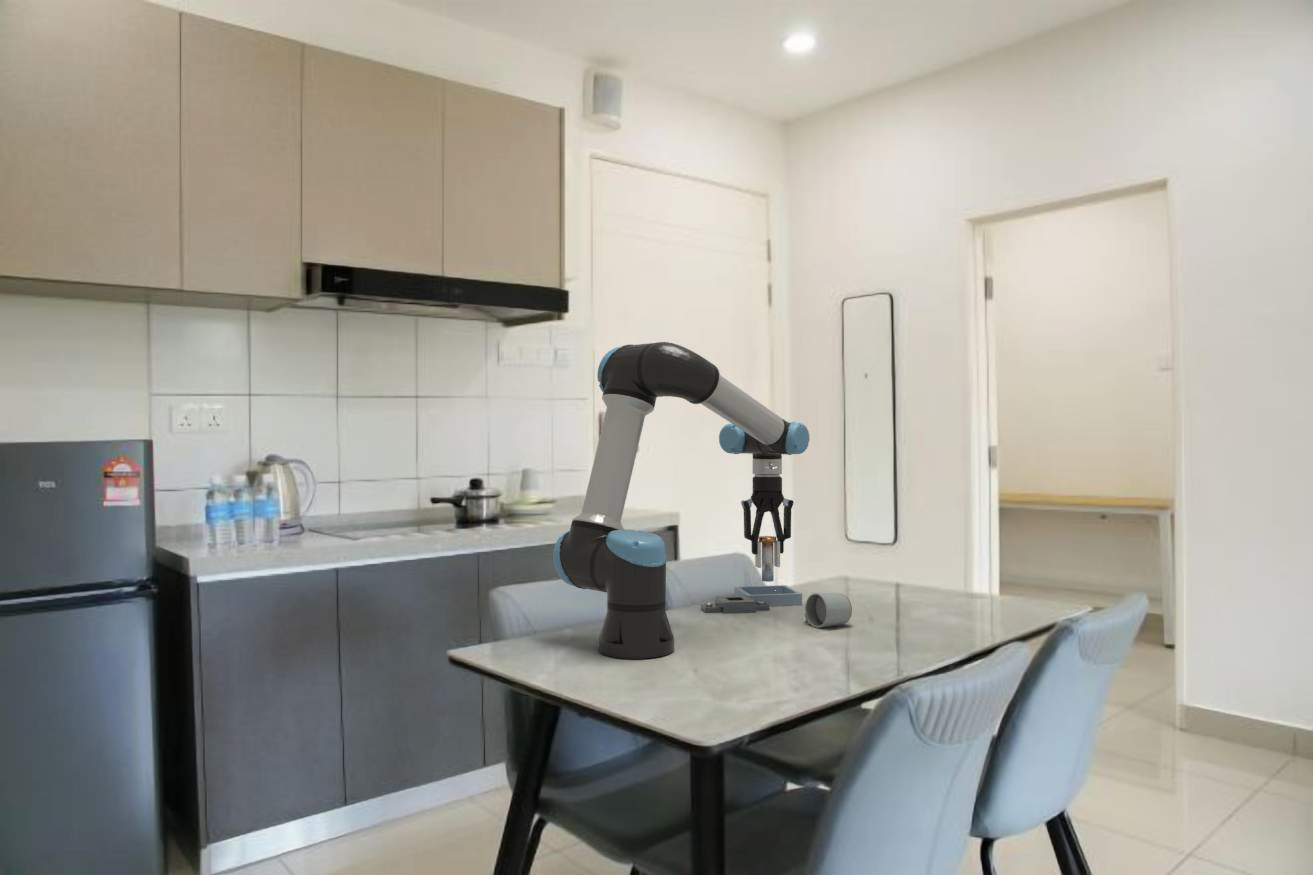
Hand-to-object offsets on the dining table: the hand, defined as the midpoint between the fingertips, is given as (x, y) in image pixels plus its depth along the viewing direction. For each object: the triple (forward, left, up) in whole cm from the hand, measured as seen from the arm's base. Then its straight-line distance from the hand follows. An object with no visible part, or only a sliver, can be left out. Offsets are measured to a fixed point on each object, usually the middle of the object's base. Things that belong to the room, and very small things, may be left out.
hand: (767, 566), depth 232 cm
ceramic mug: (+4, -29, -9) cm, 31 cm away
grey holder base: (-11, -9, -9) cm, 17 cm away
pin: (0, 0, -4) cm, 4 cm away
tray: (0, 0, -9) cm, 9 cm away
